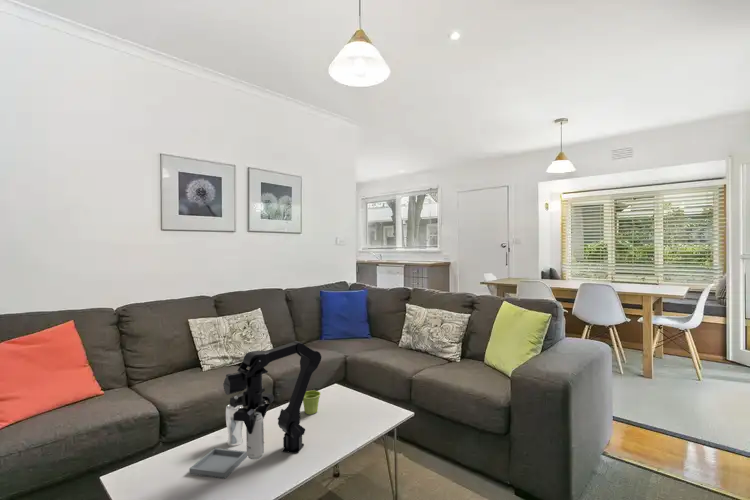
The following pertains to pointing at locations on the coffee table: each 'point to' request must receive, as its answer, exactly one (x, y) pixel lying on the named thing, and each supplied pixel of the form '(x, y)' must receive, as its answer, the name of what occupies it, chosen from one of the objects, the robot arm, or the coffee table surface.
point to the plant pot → (311, 401)
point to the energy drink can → (256, 438)
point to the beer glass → (233, 426)
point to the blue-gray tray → (218, 463)
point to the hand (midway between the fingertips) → (254, 429)
